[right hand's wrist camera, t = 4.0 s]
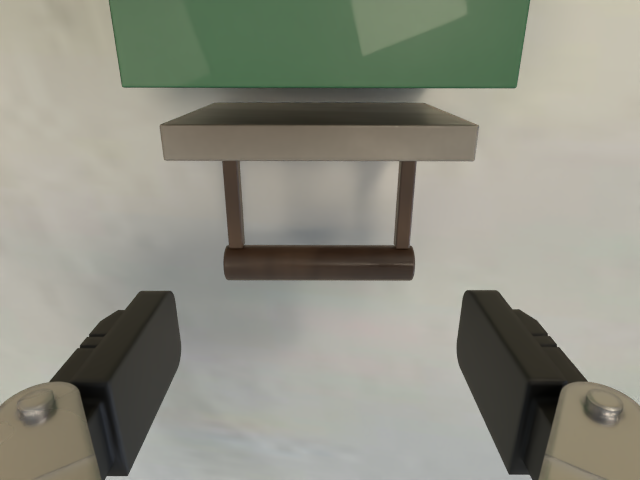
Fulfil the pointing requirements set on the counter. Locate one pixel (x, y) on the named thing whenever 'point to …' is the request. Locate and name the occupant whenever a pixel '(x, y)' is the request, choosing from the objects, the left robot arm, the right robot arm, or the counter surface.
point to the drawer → (319, 145)
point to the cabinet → (319, 43)
